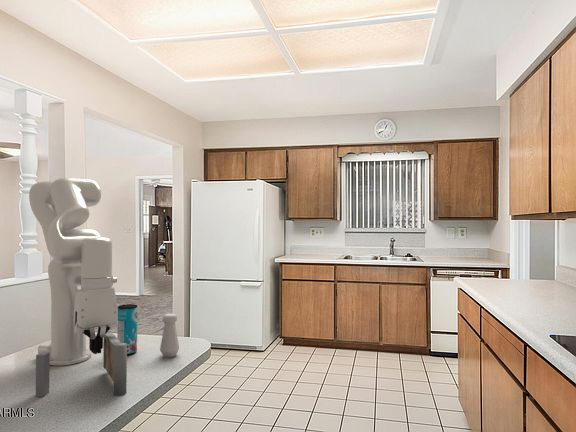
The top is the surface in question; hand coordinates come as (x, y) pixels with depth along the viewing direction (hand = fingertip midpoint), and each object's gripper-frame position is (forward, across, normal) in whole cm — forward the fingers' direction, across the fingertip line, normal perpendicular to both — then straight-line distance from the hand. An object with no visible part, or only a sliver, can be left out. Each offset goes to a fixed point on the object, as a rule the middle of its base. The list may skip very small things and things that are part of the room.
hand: (96, 352), depth 112 cm
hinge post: (+8, -2, +13) cm, 15 cm away
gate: (+6, -3, +3) cm, 7 cm away
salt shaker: (+8, -24, -5) cm, 26 cm away
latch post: (+7, +13, +1) cm, 15 cm away
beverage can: (+7, -15, -16) cm, 23 cm away
